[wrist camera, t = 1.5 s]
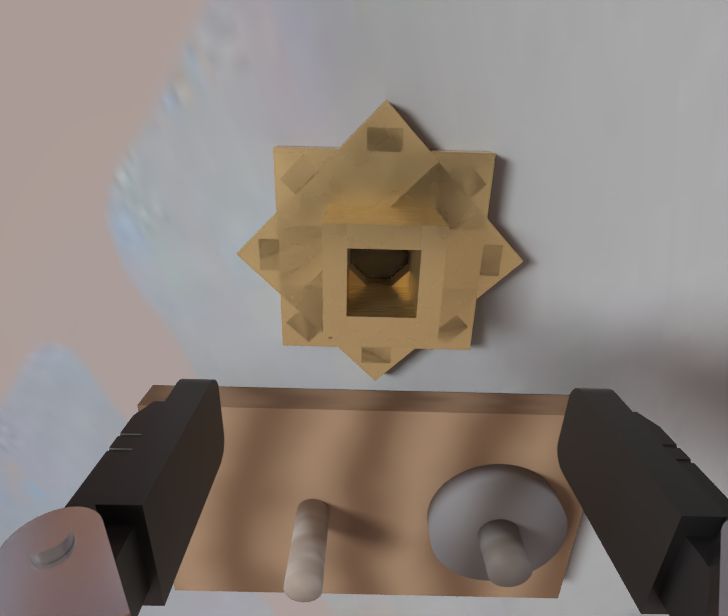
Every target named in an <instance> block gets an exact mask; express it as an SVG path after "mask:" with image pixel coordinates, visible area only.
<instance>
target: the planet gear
mask: <svg viewBox="0 0 728 616" xmlns="http://www.w3.org/2000/svg"><path fill="white" fill-rule="evenodd" d="M273 154H274V174H275V194H276V214H275V215H274V216H273V217H272V218H271V219H270V220H269V221H268V222H267V223H266V224H265V225H264V226H263V227H262V228H261V229H260V230H259V231H258V232H257V233H256V234H255V235H254V236H253V237H252V238H251V239H250V240H249V241H248V242H247V243H246V244H245V245H244V246H243V247H242V248H241V250H240V251H239V252H238V253H237V255H238V256H239V257H240V258H241V259H242V260H244V261H245V262H246V263H247V264H248V265H249V266H250V267H251V268H252V269H253V270H254V271H256V272H257V273H258V274H259V275H260V276H261V277H262V278H263V279H264V280H265V281H267V282H268V283H269V284H270V285H271V286H272V287H273V288H274V289H275V290H276V291H277V292H279V293H280V294H281V313H282V333H283V345H292V346H333V347H339V348H340V349H341V350H342V351H343V352H344V353H345V354H347V355H348V356H349V357H350V358H351V359H352V360H353V361H354V362H355V363H356V364H357V365H359V366H360V367H361V368H362V369H363V370H364V371H365V372H366V373H367V374H368V375H370V376H371V377H372V378H373V379H374V380H377V379H378V378H379V377H380V376H382V375H383V374H384V373H385V372H387V371H388V370H389V369H390V368H392V367H393V366H394V365H395V364H397V363H398V362H399V361H400V360H402V359H403V358H404V357H405V356H406V355H408V354H409V353H410V352H411V351H413V350H414V349H456V350H470V344H471V337H472V329H473V322H474V314H475V306H476V299H477V298H479V297H480V296H481V295H482V294H484V293H485V292H486V291H487V290H489V289H490V288H491V287H492V286H493V285H495V284H496V283H497V282H498V281H500V280H501V279H502V278H503V277H505V276H506V275H507V274H508V273H510V272H511V271H512V270H513V269H515V268H516V267H517V266H518V265H520V264H521V263H522V262H523V260H522V259H521V258H520V257H519V255H518V254H517V253H516V252H515V251H514V250H513V248H512V247H511V246H510V245H509V244H508V242H507V241H506V240H505V239H504V238H503V237H502V235H501V234H500V233H499V232H498V231H497V229H496V228H495V227H494V226H493V225H492V224H491V222H490V221H489V220H488V219H487V216H488V208H489V200H490V193H491V185H492V178H493V170H494V163H495V155H496V153H492V152H489V151H453V150H429V149H428V148H427V147H426V146H425V145H424V143H423V142H422V141H421V140H420V139H419V137H418V136H417V135H416V134H415V133H414V132H413V130H412V129H411V128H410V127H409V126H408V124H407V123H406V122H405V121H404V120H403V119H402V117H401V116H400V115H399V114H398V113H397V111H396V110H395V109H394V108H393V107H392V106H391V104H390V103H389V102H388V101H387V100H386V101H385V102H384V103H383V104H382V105H381V106H380V107H379V108H378V109H377V110H376V111H375V112H374V113H373V114H372V115H371V116H370V117H369V118H368V119H367V120H366V121H365V122H364V123H363V124H362V125H361V126H360V127H359V128H358V129H357V130H356V131H355V132H354V133H353V135H352V136H351V137H350V138H349V139H348V140H347V141H346V142H345V143H344V144H343V145H342V146H341V147H305V146H276V147H273ZM351 248H352V249H391V250H409V253H408V263H407V264H406V265H405V266H404V267H403V268H402V269H401V270H399V271H398V272H397V273H396V274H395V275H394V276H393V277H391V278H390V279H384V278H366V277H365V276H364V275H363V274H362V273H361V272H360V271H359V270H358V269H357V268H356V267H355V266H354V265H353V264H352V263H351V262H350V252H351Z"/></svg>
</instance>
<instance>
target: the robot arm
mask: <svg viewBox="0 0 728 616" xmlns="http://www.w3.org/2000/svg"><path fill="white" fill-rule="evenodd" d="M223 452H224V428H223V419H222V411H221V402H220V393H219V386H218V383H217V381H216V380H207V379H180V380H179V381H178V382H177V384H176V385H175V387H174V388H173V390H172V391H171V393H170V394H169V395H168V397H167V398H166V400H165V401H153V402H152V403H150V404H149V405H148V406H146V407H145V408H143V409H142V410H140V411H139V412H138V413H136V414H135V415H134V416H133V417H132V418H131V419H130V421H129V422H128V423H127V425H126V426H125V427H124V429H123V430H122V431H121V434H120V436H118V437H117V438H116V439H115V441H114V442H113V443H112V445H111V446H110V450H109V451H106V453H105V454H104V455H103V457H102V458H101V459H100V461H99V462H98V463H97V465H96V466H95V467H94V469H93V470H92V471H91V473H90V474H89V475H88V477H87V478H86V480H85V481H84V482H83V484H82V485H81V486H80V488H79V489H78V490H77V492H76V493H75V494H74V496H73V497H72V498H71V500H70V501H69V502H68V504H67V505H66V506H65V508H61V509H57V510H53V511H51V512H48V513H45V514H43V515H41V516H38V517H36V518H35V519H33V520H31V521H29V522H27V523H26V524H25V525H23V526H22V527H20V528H19V529H18V530H16V531H15V532H14V533H13V534H12V535H11V536H10V537H9V538H8V539H7V540H6V541H5V542H4V543H3V544H2V546H1V547H0V616H138V614H139V612H140V609H141V607H142V605H150V606H165V603H166V601H167V598H168V596H169V593H170V591H171V588H172V586H173V583H174V580H175V578H176V575H177V573H178V570H179V568H180V565H181V563H182V560H183V558H184V555H185V553H186V550H187V548H188V545H189V543H190V540H191V538H192V535H193V533H194V530H195V528H196V525H197V523H198V520H199V518H200V515H201V513H202V510H203V507H204V505H205V502H206V500H207V497H208V495H209V492H210V490H211V487H212V485H213V482H214V480H215V477H216V475H217V472H218V470H219V467H220V465H221V461H222V457H223ZM557 456H558V462H559V466H560V469H561V471H562V473H563V475H564V477H565V478H566V480H567V482H568V484H569V486H570V487H571V489H572V491H573V493H574V494H575V496H576V498H577V500H578V502H579V503H580V505H581V507H582V509H583V511H584V512H585V514H586V516H587V518H588V520H589V521H590V523H591V525H592V527H593V529H594V530H595V532H596V534H597V536H598V538H599V539H600V541H601V543H602V545H603V546H604V548H605V550H606V552H607V554H608V555H609V557H610V559H611V561H612V563H613V564H614V566H615V568H616V570H617V572H618V573H619V575H620V577H621V579H622V581H623V582H624V584H625V586H626V588H627V589H628V591H629V593H630V595H631V597H632V598H633V600H634V602H635V604H636V606H637V607H638V609H639V611H640V613H641V614H669V616H728V498H727V497H726V496H725V495H724V494H723V493H722V492H721V491H720V490H719V489H718V488H717V487H716V486H715V485H714V484H713V483H712V481H711V480H710V479H709V478H708V477H707V476H706V475H705V474H704V473H703V472H702V471H701V470H700V469H699V468H698V467H697V466H696V465H695V464H694V463H691V459H690V458H689V457H688V456H687V455H686V454H685V453H684V452H683V451H682V450H681V449H680V448H677V446H676V443H675V442H674V441H673V440H672V439H671V438H670V437H669V436H668V435H667V434H666V433H665V432H664V431H663V430H662V429H661V428H660V427H659V426H658V425H656V424H654V423H653V422H651V421H650V420H648V419H647V418H645V417H644V416H642V415H640V414H639V413H637V412H632V411H631V410H630V408H629V407H628V406H627V405H626V404H625V403H624V402H623V401H622V400H621V398H620V397H619V396H618V395H617V394H616V393H615V392H614V391H613V390H611V389H587V388H576V389H574V390H572V392H571V393H570V396H569V399H568V403H567V407H566V411H565V415H564V419H563V423H562V428H561V432H560V436H559V440H558V445H557Z"/></svg>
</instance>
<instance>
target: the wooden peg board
mask: <svg viewBox="0 0 728 616" xmlns="http://www.w3.org/2000/svg"><path fill="white" fill-rule="evenodd" d="M174 387H175V386H165V385H153V386H152V387H151V389H150V390H149V391H148V392H147V394H146V395H145V396H144V397H143V399H142V400H141V401H140V403H139V404H138V411H140V410H142V409H143V408H145V407H146V406H148V405H149V404H150V403H152V402H153V401H165V400H166V398H167V397H168V395H169V394H170V393H171V391H172V390H173V388H174ZM219 393H220V402H221V411H222V419H223V428H224V452H223V457H222V461H221V465H220V467H219V470H218V472H217V475H216V477H215V480H214V482H213V485H212V487H211V490H210V492H209V495H208V497H207V500H206V502H205V505H204V507H203V510H202V513H201V515H200V518H199V520H198V523H197V525H196V528H195V530H194V533H193V535H192V538H191V540H190V543H189V545H188V548H187V550H186V553H185V555H184V558H183V560H182V563H181V565H180V568H179V570H178V573H177V575H176V578H175V580H174V587H175V590H191V591H238V592H285V594H286V595H287V596H288V597H289V598H290V599H292V600H294V601H298V602H310V601H313V600H315V599H317V598H319V597H320V595H321V594H322V593H333V594H380V595H428V596H475V597H522V598H558V596H559V592H560V589H561V585H562V582H563V579H564V575H565V572H566V568H567V565H568V561H569V558H570V554H571V551H572V547H573V544H574V540H575V537H576V533H577V530H578V526H579V523H580V520H581V516H582V513H583V509H582V507H581V505H580V503H579V502H578V500H577V498H576V496H575V494H574V493H573V491H572V489H571V487H570V486H569V484H568V482H567V480H566V478H565V477H564V475H563V473H562V471H561V469H560V466H559V462H558V456H557V445H558V440H559V436H560V432H561V428H562V423H563V419H564V415H565V411H566V407H567V403H568V399H569V396H570V395H544V394H502V393H460V392H418V391H376V390H334V389H292V388H250V387H219Z"/></svg>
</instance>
